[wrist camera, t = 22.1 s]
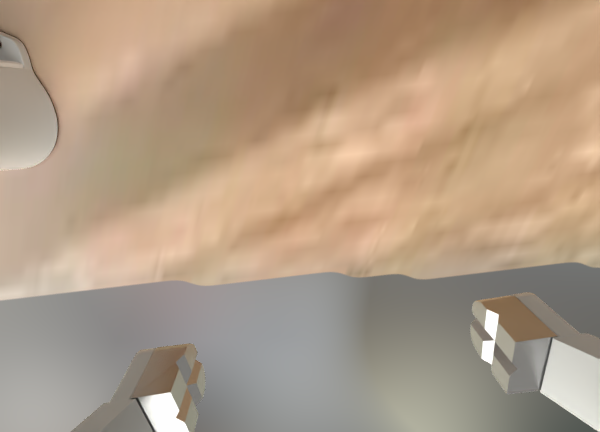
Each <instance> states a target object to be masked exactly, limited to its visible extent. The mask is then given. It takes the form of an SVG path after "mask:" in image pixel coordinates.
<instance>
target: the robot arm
mask: <svg viewBox="0 0 600 432" xmlns="http://www.w3.org/2000/svg"><path fill="white" fill-rule="evenodd" d="M0 42H1V43H2V47H0V171H3V170H17V169H26V168H30V167H33V166H35V165H37V164H39V163H41V162H42V161H43V160H45V159H46V158H47V157H48V156H49V154H50V153H51V151H52V150H53V148H54V146H55V143H56V139H57V132H58V125H57V118H56V113H55V110H54V107H53V104H52V102H51V100H50V98H49V96H48V94H47V92H46V91H45V89H44V87H43V86H42V85H41V83H40V82H39V80H38V79H37V77H36V76H35V74H34V72H33V70H32V66H31V63H30V59H29V56H28V53H27V51H26V48H25V47H24V45H23V44H22V42H21V41H20V40H18V39H17V38H15V37H12V36H10V35H8V34H5V33H3V32H0ZM472 313H473V314H474V316H475V317H476V319H475V320H474V321H473V322H472V323H471V326H470V327H471V329H470V335H471V339H472V342H473V345H474V347H475V349H476V351H477V352H478V354H479V355H480V357H481V358H482V359H484V360H485V361H487V362H489V363H491V364H492V368H491V373H492V374H493V375H494V377H495V378H496V380H497V381H498V383H499V384H500V385H501V387H502V388H503V390H504V391H505V392H506V394H513V393H522V392H530V391H539V390H541V393H542V394H544V395H546V396H547V397H548V398H550V399H551V400H553V401H554V402H556V403H557V404H559V405H560V406H561V407H563V408H565V409H566V410H567V411H569V412H570V413H572V414H573V415H575V416H577V417H578V418H579V419H581V420H582V421H584V422H585V423H587V424H588V425H589V426H591V427H592V428H594V429H595V430H597V431H598V432H600V338H598V337H595V336H593V335H590V334H588V333H583V334H580V333H579V332H578V331H577V330H575V329H574V328H573V327H572V326H571V325H570V324H568V323H567V322H566V321H565V320H564V319H563V318H561V317H560V316H559V315H558V314H557V313H556V312H554V311H553V310H552V309H551V308H550V307H549V306H547V305H546V304H545V303H544V302H543V301H542V300H541V299H539V298H538V297H537V296H536V295H535V294H532V293H529V292H527V293H521V294H514V295H511V296H503V297H497V298H490V299H484V300H478V301H475V302H474V303H473V305H472ZM196 356H197V350H196V348H195V346H194V344H182V345H174V346H166V347H158V348H153V349H144V350H140V351H139V352H138V353H136V355H135V357H134V358H133V360H132V362H131V364H130V366H129V368H128V369H127V371H126V373H125V375H124V377H123V379H122V380H121V382H120V384H119V386H118V388H117V390H116V391H115V393H114V395H113V397H112V399H111V401H110V402H108V403H104V404H103V405H101V406H100V407H99V408H98V409H97V410H96V411H95V412H93V413H92V414H91V415H90V416H89V417H87V418H86V419H85V420H84V421H83V422H82V423H80V424H79V425H78V426H77V427H76V428H75V429H74V430H72V431H71V432H194V430H195V426H196V423H197V418H198V411H197V409H196V406H197V404H198V403H199V402H200V401H201V400H202V398H203V395H204V391H205V372H204V368H203V366H202V364H201V363H200V362H198V361H197V360H195V359H196Z"/></svg>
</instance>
